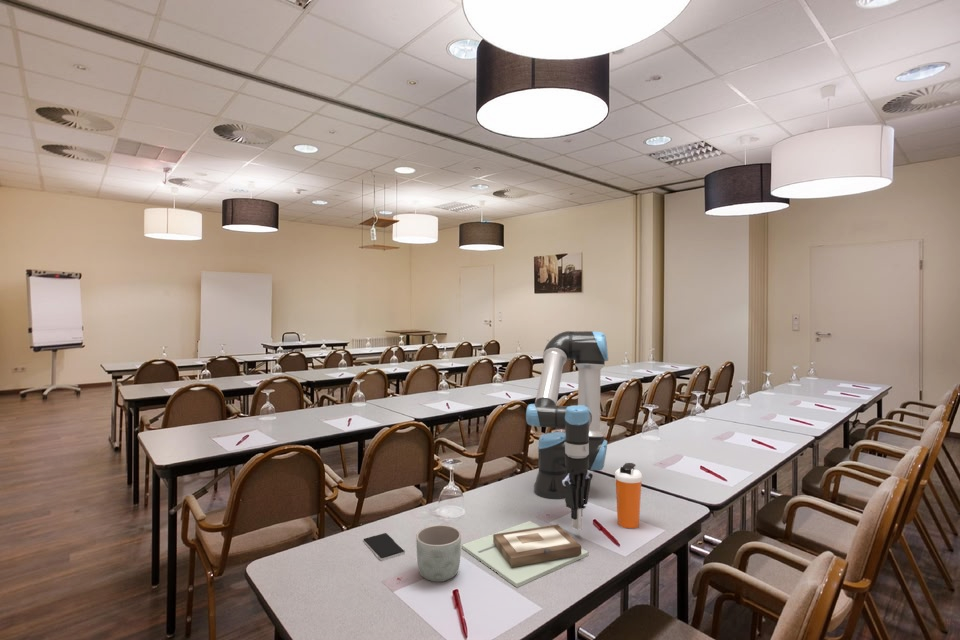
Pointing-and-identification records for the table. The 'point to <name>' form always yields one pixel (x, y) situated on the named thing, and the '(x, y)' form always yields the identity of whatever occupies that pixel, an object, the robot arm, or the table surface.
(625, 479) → the shaker bottle
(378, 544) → the smartphone
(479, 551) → the wall panel
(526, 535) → the frame
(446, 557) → the planter
